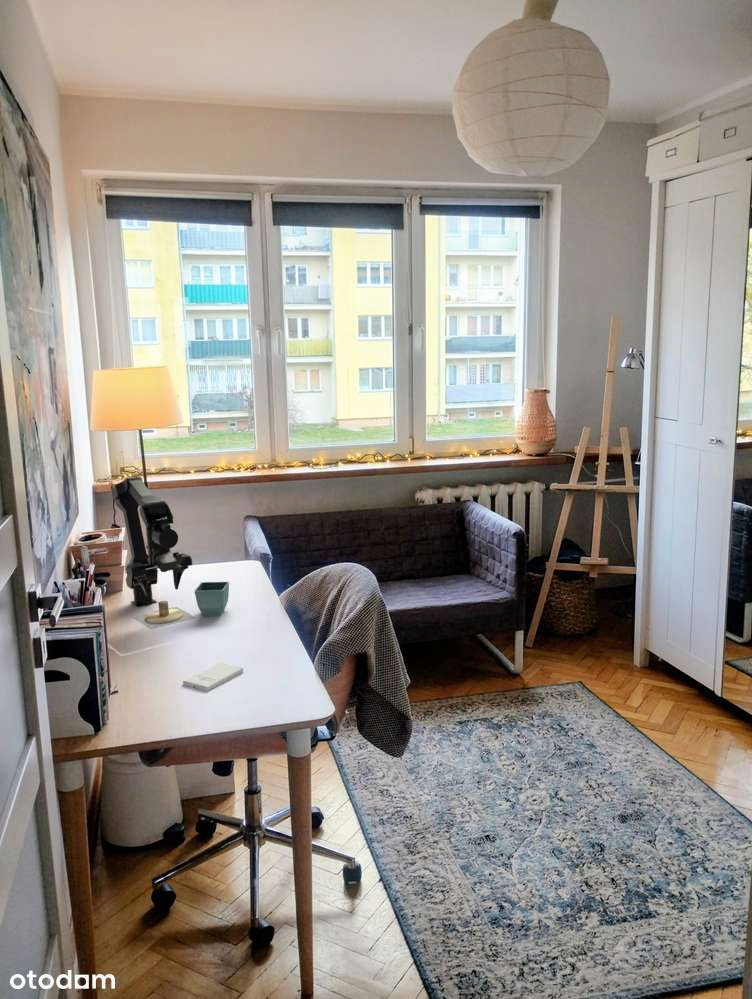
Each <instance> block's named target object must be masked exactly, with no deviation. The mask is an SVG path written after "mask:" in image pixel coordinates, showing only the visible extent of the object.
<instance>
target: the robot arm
mask: <svg viewBox="0 0 752 999" xmlns="http://www.w3.org/2000/svg"><path fill="white" fill-rule="evenodd" d="M111 494H112V498H113V500H114V502H115V505H116V506H117V508H118V509H119V510H120V511H121V512H122V513H123V520H124V524H125V530H126V535H127V539H128V544H129V550H130V554H131V557H130V561H129V562H128V564H127V565H126V567H125V574H126V577H125V582H126V587H128V588H129V589H130V590H132V591H133V600H131V601H130V604H131V603H132V604H131V605H133V606H134V607H137V608H140V607H144V606H148V605H152V604H153V605H154V604H157V603H158V602H157V600H155V599H154V598H153V597H154V596H153V589H152V585H156V584H158V573H159V572H158V571H160V572H161V573H166V572H169V571H172V577H173V585H174V589H175V590H178V589H179V587H180V583H181V579H182V576H183V574H184V572H185V570H188V569H189V566H192V565H193V558H192V557H191V555H188V554H185V553H183V552H181V551H180V550H179V551H175V552H171V549H173V548H174V547H175V546H176V545H177V544H178V541H179V535H178V533H177V532H176V531H175V530H174V529H172V527H171V525H172V524H174V515H173V513H172V511H171V508H170V506H169V504H168V503H167V502H166V501H165V500H164V499H163V498H162V497H161V496H156V495H153V493H152V492H151V491H150V490H149V488H148V487H147V486H146V485H145V484H144V482H143V478H142V477H140V476H134V477H133V476H131V477H125V478H124V479H123V480H122V481H121V482H118V483H117V484H116V483H115V485H114V486H113V488H112V489H111ZM140 517H141V519H140ZM141 520H142V521H143V523H144V526H145V531H146V542H147V544H146V543H145V539H144V534H143V529H142V523H141ZM145 544H146V545H145ZM147 552H148V553H147Z"/></svg>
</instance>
